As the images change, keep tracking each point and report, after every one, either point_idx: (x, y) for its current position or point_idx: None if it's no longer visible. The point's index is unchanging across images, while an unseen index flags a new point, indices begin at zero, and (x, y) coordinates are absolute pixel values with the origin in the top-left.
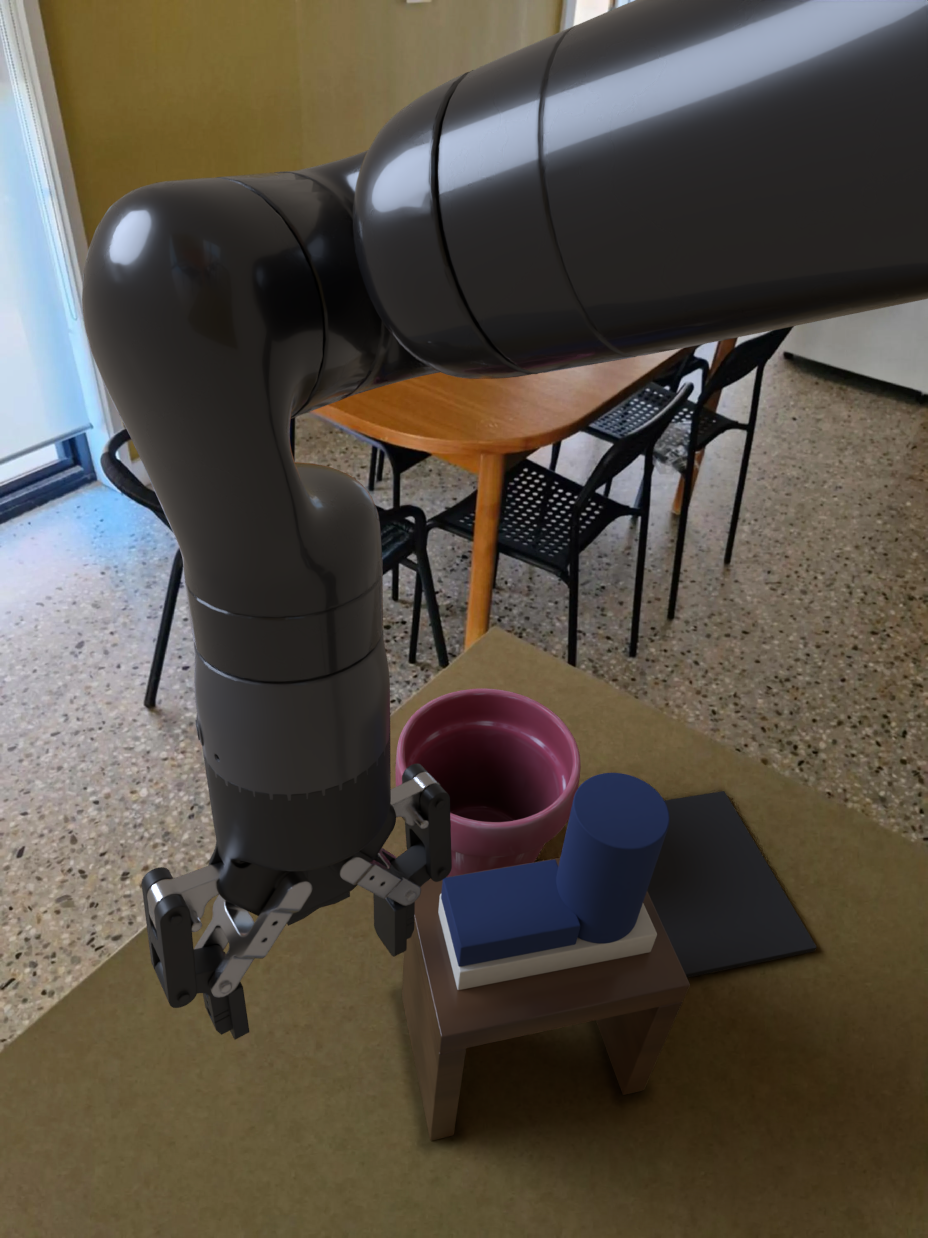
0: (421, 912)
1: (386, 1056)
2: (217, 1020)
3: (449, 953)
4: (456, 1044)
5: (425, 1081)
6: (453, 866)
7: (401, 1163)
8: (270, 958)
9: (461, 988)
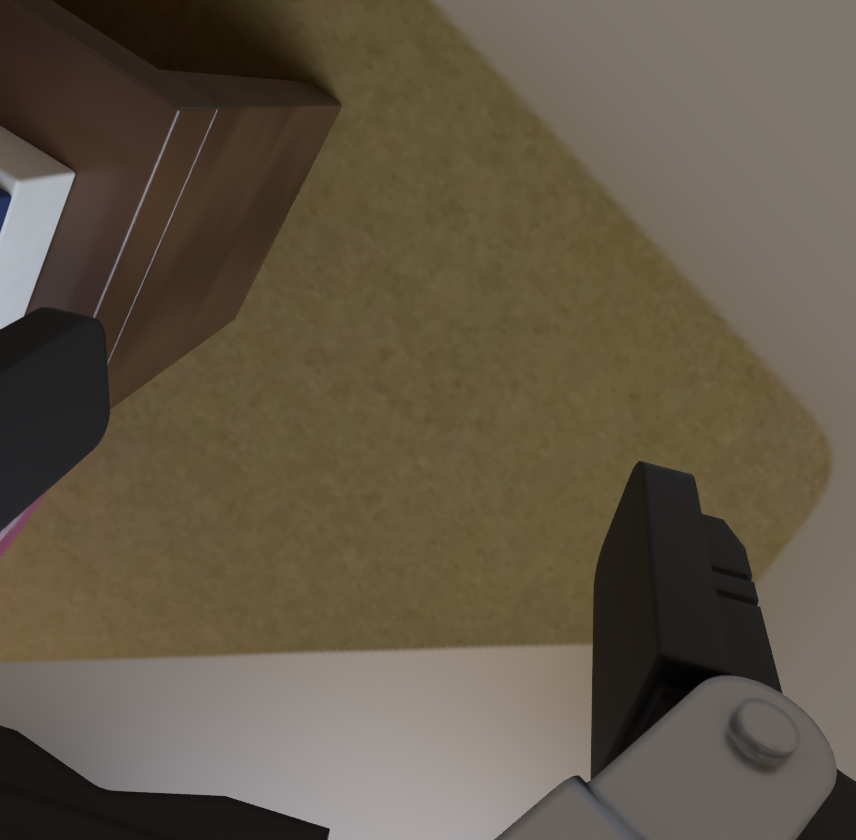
0: None
1: (313, 263)
2: (743, 581)
3: (36, 259)
4: (167, 83)
5: (287, 164)
6: None
7: (400, 114)
8: (360, 507)
9: (63, 167)
